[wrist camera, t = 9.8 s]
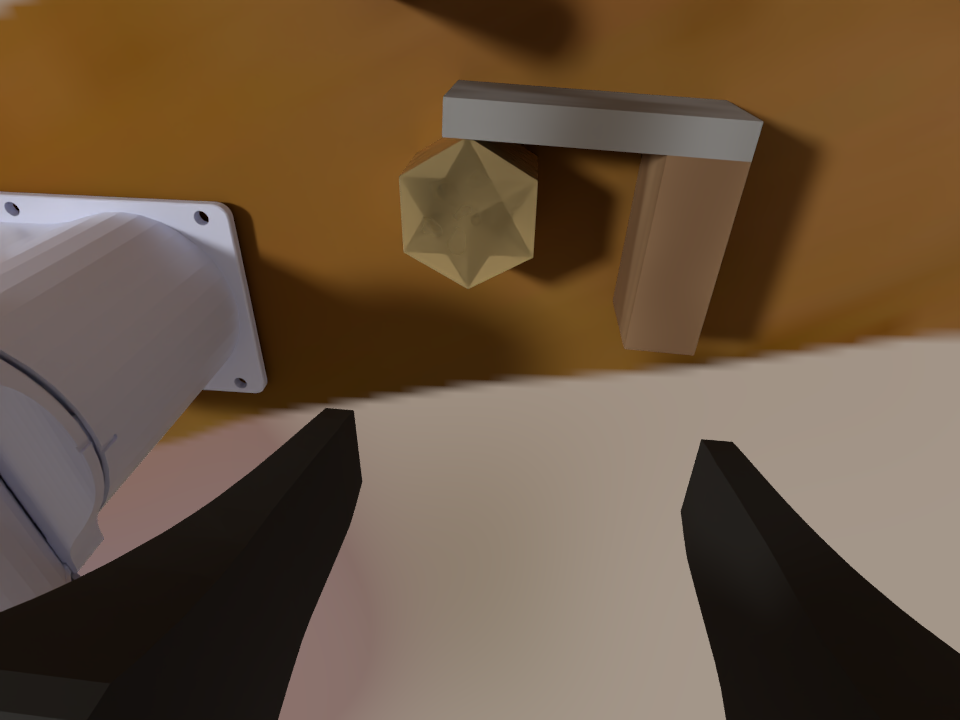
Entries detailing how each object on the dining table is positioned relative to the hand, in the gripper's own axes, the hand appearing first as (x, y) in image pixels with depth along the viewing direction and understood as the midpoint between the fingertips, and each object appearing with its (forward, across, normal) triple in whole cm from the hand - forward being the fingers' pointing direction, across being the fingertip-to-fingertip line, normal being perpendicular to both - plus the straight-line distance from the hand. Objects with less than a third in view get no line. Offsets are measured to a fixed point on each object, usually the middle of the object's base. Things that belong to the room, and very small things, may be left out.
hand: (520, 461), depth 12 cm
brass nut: (+10, +2, -3) cm, 11 cm away
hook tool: (+11, -1, -2) cm, 11 cm away
